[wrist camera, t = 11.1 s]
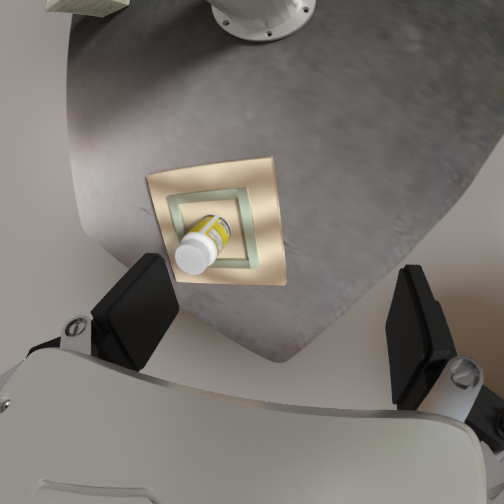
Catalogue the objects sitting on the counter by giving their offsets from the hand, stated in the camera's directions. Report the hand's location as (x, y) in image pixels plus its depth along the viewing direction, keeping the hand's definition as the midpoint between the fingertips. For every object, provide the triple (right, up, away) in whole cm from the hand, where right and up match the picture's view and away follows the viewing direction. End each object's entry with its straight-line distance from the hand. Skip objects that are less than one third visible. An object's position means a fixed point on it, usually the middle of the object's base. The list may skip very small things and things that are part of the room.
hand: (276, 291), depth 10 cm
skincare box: (-22, +40, +14) cm, 48 cm away
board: (-6, +5, +29) cm, 30 cm away
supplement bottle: (-6, +5, +28) cm, 29 cm away
